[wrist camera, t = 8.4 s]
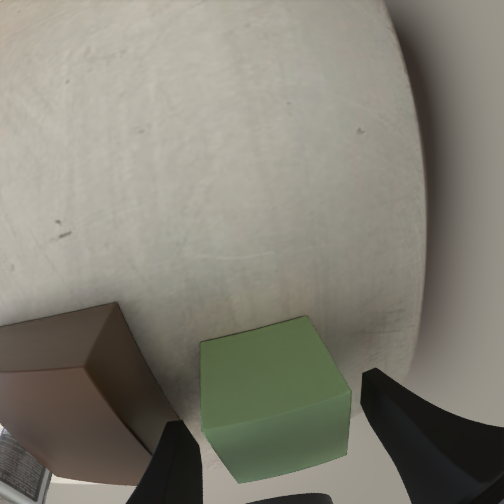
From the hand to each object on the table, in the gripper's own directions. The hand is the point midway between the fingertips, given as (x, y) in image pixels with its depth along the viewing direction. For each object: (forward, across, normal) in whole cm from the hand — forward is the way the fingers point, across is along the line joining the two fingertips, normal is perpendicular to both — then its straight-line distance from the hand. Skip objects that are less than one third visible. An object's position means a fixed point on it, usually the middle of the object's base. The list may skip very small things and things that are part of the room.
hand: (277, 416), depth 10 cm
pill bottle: (+3, +18, +4) cm, 19 cm away
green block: (+3, 0, 0) cm, 3 cm away
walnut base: (+3, +9, -1) cm, 9 cm away
